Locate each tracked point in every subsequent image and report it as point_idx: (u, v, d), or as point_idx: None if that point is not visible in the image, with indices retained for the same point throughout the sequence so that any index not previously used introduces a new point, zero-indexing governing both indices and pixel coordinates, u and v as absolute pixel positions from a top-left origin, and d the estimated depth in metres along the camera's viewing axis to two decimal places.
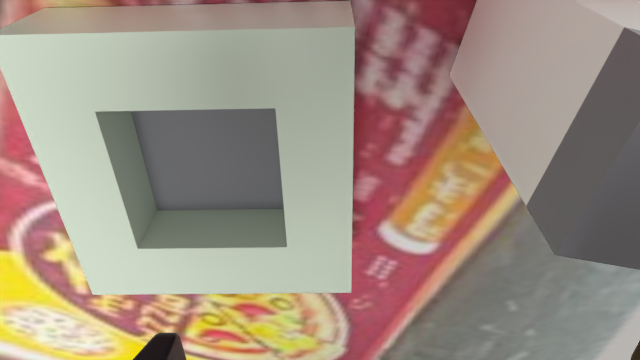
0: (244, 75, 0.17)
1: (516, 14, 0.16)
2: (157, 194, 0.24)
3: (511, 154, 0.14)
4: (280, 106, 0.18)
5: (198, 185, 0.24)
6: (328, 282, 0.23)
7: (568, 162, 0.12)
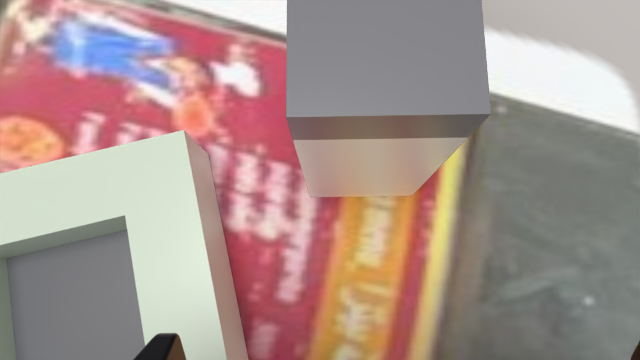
0: (95, 189, 0.20)
1: None
2: None
3: None
4: (129, 212, 0.19)
5: None
6: None
7: None
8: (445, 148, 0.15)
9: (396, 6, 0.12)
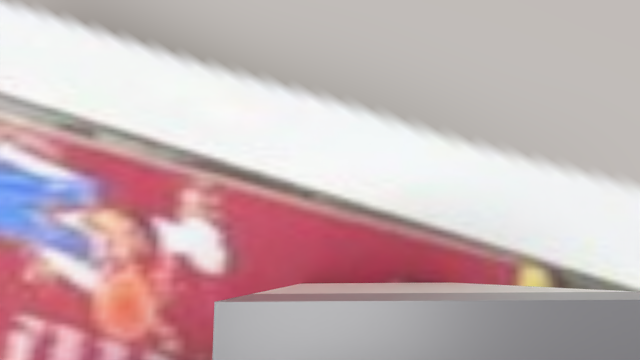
0: None
1: None
2: None
3: None
4: None
5: None
6: None
7: None
8: None
9: None
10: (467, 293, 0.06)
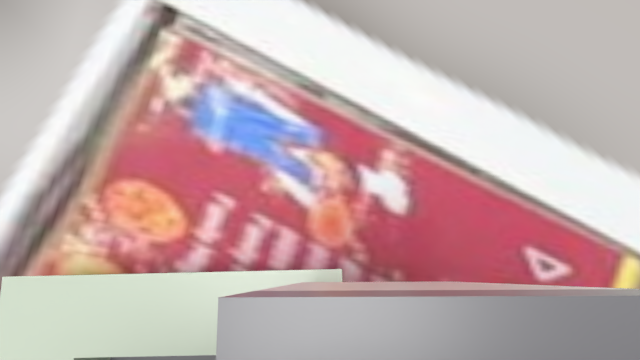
0: None
1: None
2: None
3: None
4: None
5: None
6: None
7: None
8: None
9: None
10: (469, 290, 0.06)
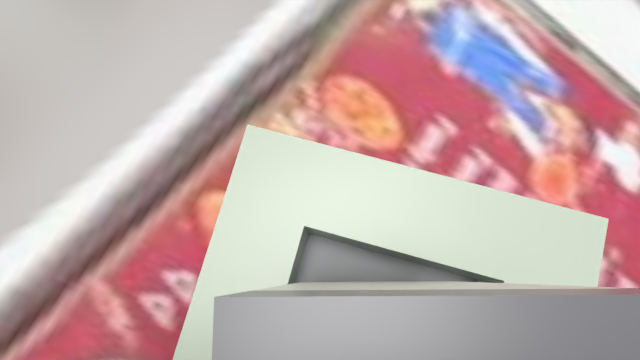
0: (482, 234, 0.16)
1: None
2: None
3: None
4: (510, 280, 0.16)
5: None
6: None
7: None
8: None
9: None
10: (467, 289, 0.06)
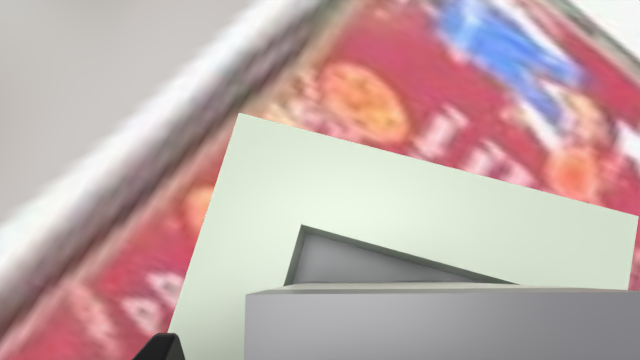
0: (498, 233, 0.15)
1: None
2: None
3: None
4: None
5: None
6: None
7: None
8: None
9: None
10: (442, 289, 0.07)
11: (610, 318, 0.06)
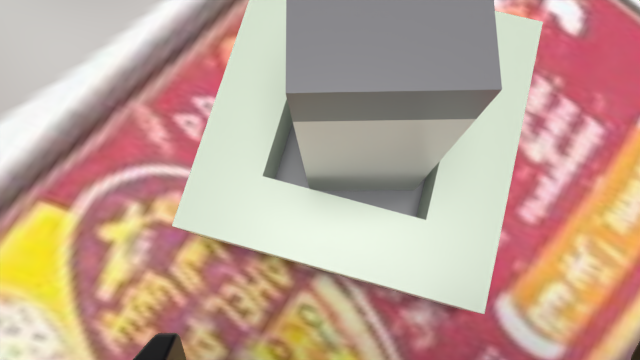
0: None
1: None
2: (282, 171, 0.23)
3: None
4: None
5: None
6: (460, 287, 0.19)
7: None
8: (452, 132, 0.14)
9: None
10: None
11: None
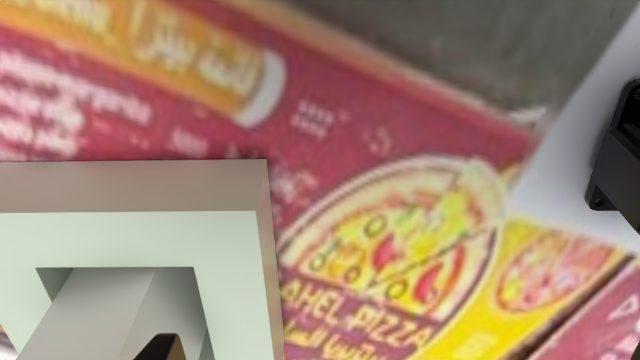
0: (13, 284, 0.21)
1: None
2: None
3: None
4: (31, 263, 0.21)
5: None
6: (240, 232, 0.19)
7: None
8: None
9: None
10: None
11: None
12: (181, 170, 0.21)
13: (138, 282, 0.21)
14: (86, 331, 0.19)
